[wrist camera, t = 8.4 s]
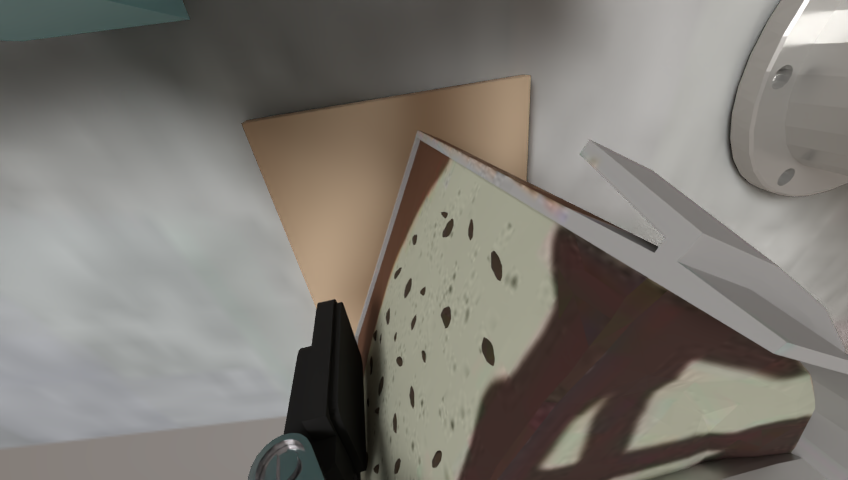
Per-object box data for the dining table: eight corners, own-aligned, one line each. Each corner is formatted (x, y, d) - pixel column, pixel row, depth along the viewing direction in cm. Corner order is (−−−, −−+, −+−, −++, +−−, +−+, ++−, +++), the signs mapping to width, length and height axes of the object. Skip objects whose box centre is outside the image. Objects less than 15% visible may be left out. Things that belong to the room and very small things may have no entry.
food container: (464, 368, 17) (569, 688, 8) (347, 358, 15) (329, 752, 7) (588, 139, 12) (1212, 369, 3) (432, 81, 10) (894, 249, 1)
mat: (523, 74, 12) (530, 75, 11) (515, 323, 19) (520, 330, 18) (246, 120, 11) (241, 123, 10) (344, 366, 18) (343, 375, 17)
